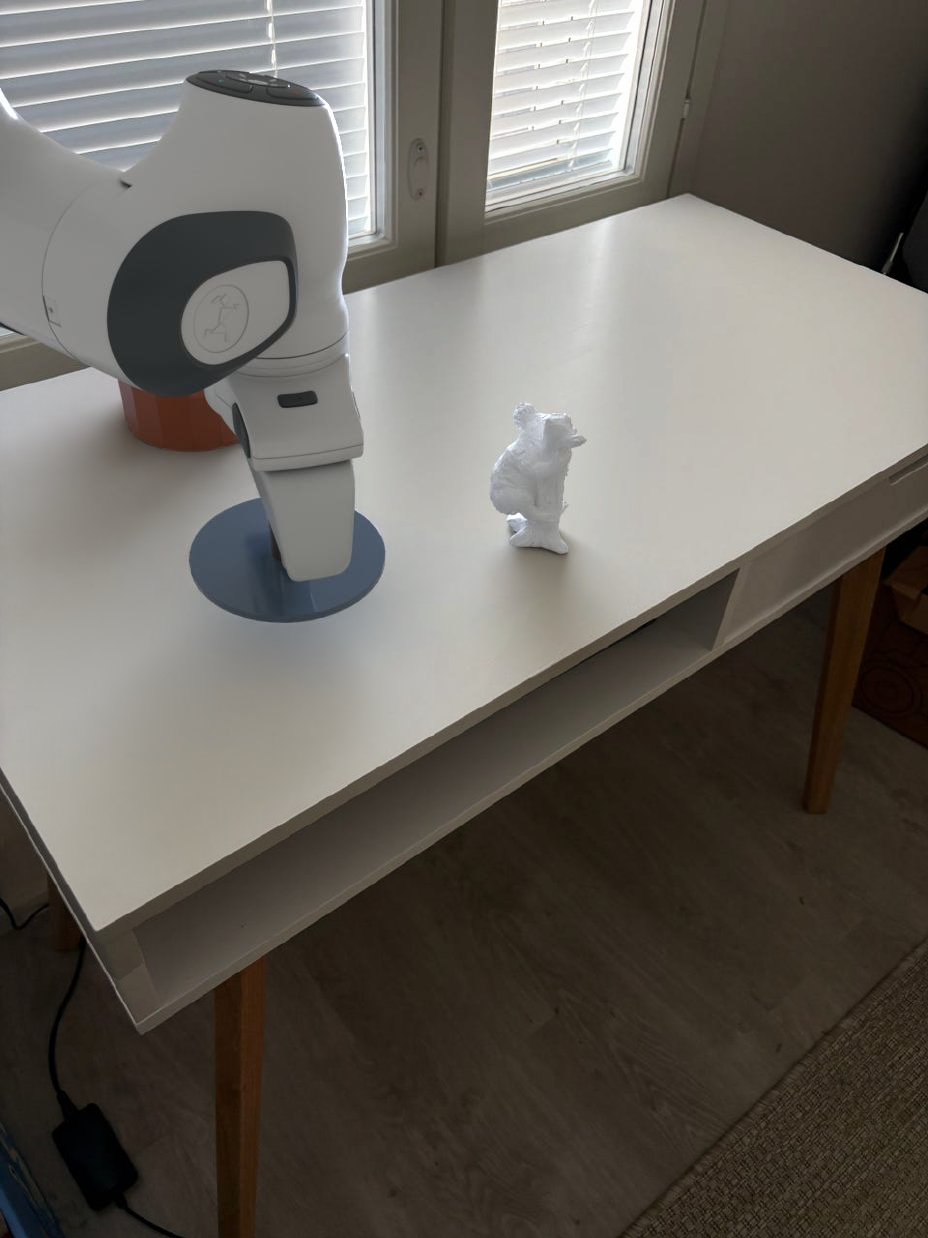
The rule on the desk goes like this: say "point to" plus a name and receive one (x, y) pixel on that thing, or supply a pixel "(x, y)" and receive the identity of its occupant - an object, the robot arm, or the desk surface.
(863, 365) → the desk surface
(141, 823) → the desk surface
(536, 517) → the koala figurine
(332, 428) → the robot arm
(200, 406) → the pot
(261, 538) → the lid
